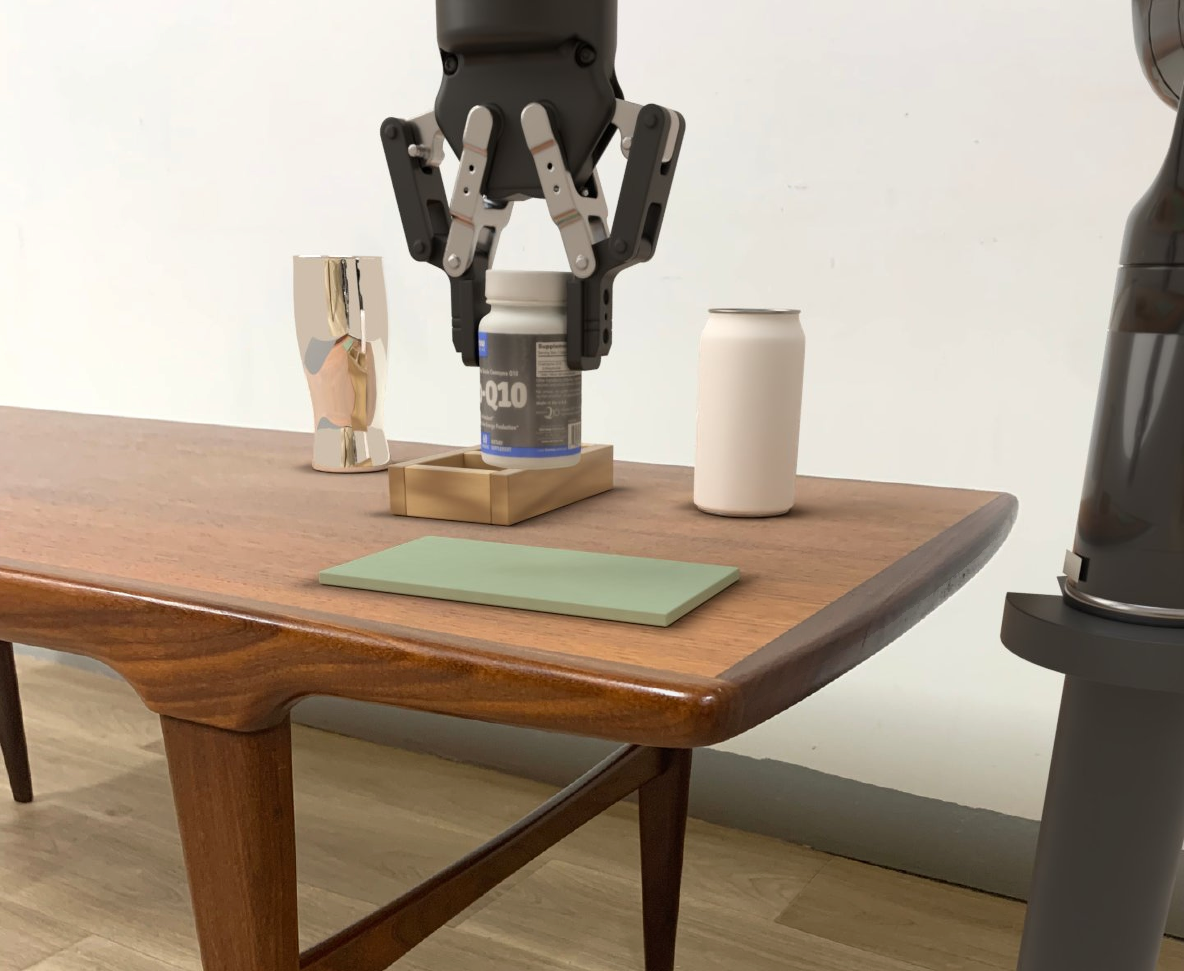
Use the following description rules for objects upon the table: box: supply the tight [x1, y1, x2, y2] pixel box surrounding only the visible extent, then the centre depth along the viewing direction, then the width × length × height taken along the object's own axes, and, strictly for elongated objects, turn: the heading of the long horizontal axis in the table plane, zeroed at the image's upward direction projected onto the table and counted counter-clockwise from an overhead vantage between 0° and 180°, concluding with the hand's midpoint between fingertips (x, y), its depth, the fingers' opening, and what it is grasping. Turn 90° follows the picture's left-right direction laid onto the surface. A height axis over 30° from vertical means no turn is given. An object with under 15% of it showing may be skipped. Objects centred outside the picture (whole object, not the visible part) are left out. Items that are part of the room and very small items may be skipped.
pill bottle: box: [479, 269, 583, 470], centre depth 56 cm, size 5×5×8 cm
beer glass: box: [291, 254, 393, 474], centre depth 92 cm, size 7×7×15 cm
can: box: [693, 307, 806, 518], centre depth 76 cm, size 6×6×12 cm
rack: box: [387, 442, 614, 527], centre depth 80 cm, size 8×16×3 cm, turn 156°
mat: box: [318, 535, 741, 628], centre depth 59 cm, size 18×10×1 cm, turn 65°
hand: (530, 365), depth 56 cm, fingers closed on pill bottle, 4 cm apart
